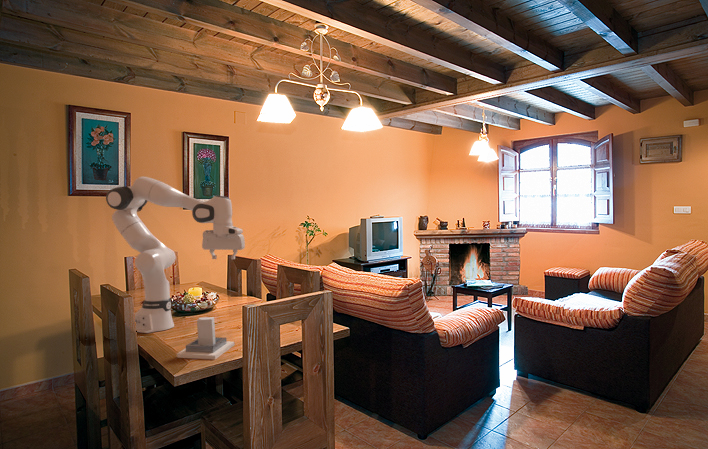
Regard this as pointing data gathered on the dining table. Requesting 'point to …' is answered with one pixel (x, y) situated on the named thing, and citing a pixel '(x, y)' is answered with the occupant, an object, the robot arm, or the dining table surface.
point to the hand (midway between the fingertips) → (223, 259)
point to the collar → (206, 349)
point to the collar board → (205, 355)
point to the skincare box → (206, 331)
